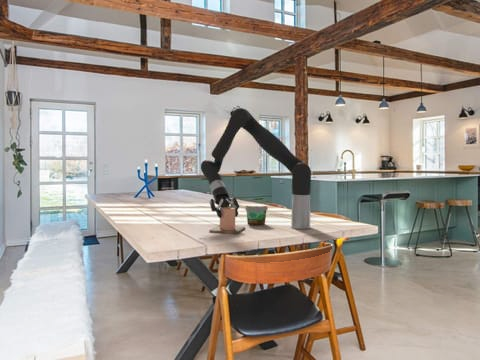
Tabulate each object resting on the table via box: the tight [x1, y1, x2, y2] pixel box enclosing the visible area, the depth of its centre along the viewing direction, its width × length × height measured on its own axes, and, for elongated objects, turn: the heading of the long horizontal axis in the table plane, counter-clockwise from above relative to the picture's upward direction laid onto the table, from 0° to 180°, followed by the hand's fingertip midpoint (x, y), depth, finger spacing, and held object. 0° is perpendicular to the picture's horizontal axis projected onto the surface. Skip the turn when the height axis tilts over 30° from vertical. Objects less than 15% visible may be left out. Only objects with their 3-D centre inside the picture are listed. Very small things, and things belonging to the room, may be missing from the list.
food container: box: [244, 205, 269, 227], centre depth 186 cm, size 12×6×10 cm, turn 76°
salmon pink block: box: [219, 207, 236, 230], centre depth 171 cm, size 6×6×10 cm
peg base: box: [208, 224, 246, 235], centre depth 171 cm, size 14×13×8 cm
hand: (228, 216), depth 169 cm, fingers open, 8 cm apart
